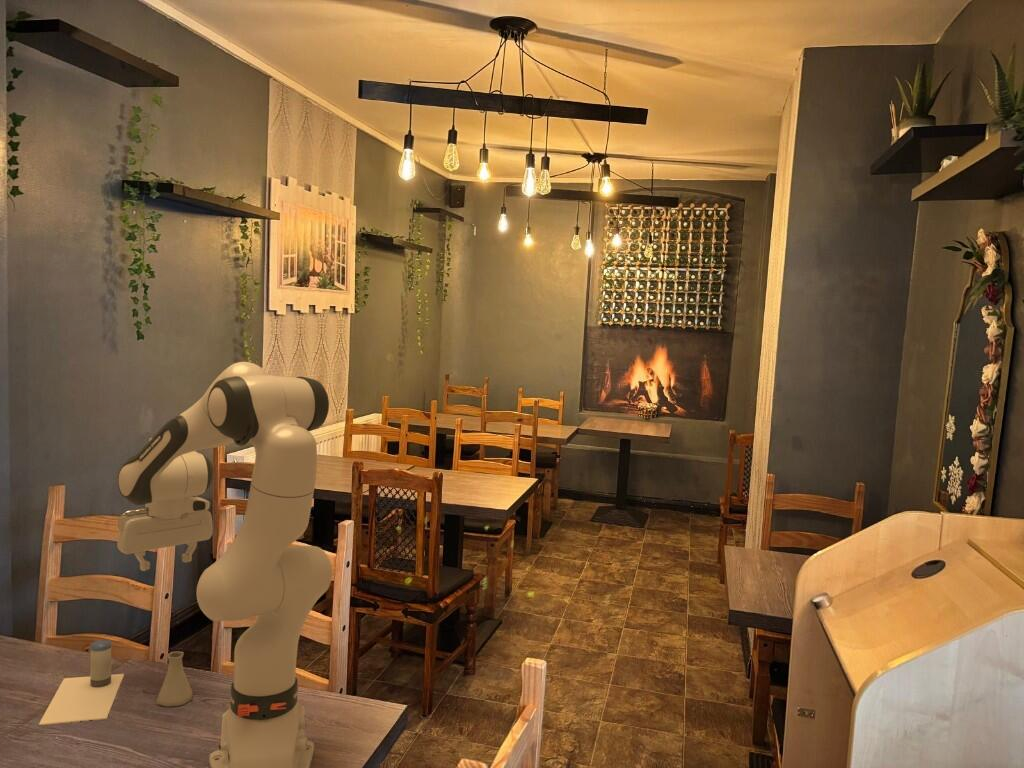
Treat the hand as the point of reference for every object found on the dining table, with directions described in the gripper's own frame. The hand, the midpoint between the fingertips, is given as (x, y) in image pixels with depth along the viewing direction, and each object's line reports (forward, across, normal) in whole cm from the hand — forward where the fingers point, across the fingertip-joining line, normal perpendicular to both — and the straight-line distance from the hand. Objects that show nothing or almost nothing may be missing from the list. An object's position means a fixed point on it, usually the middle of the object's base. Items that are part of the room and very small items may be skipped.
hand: (166, 565), depth 174 cm
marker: (+25, -12, +5) cm, 28 cm away
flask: (+26, -4, -12) cm, 29 cm away
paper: (+25, -17, 0) cm, 30 cm away
